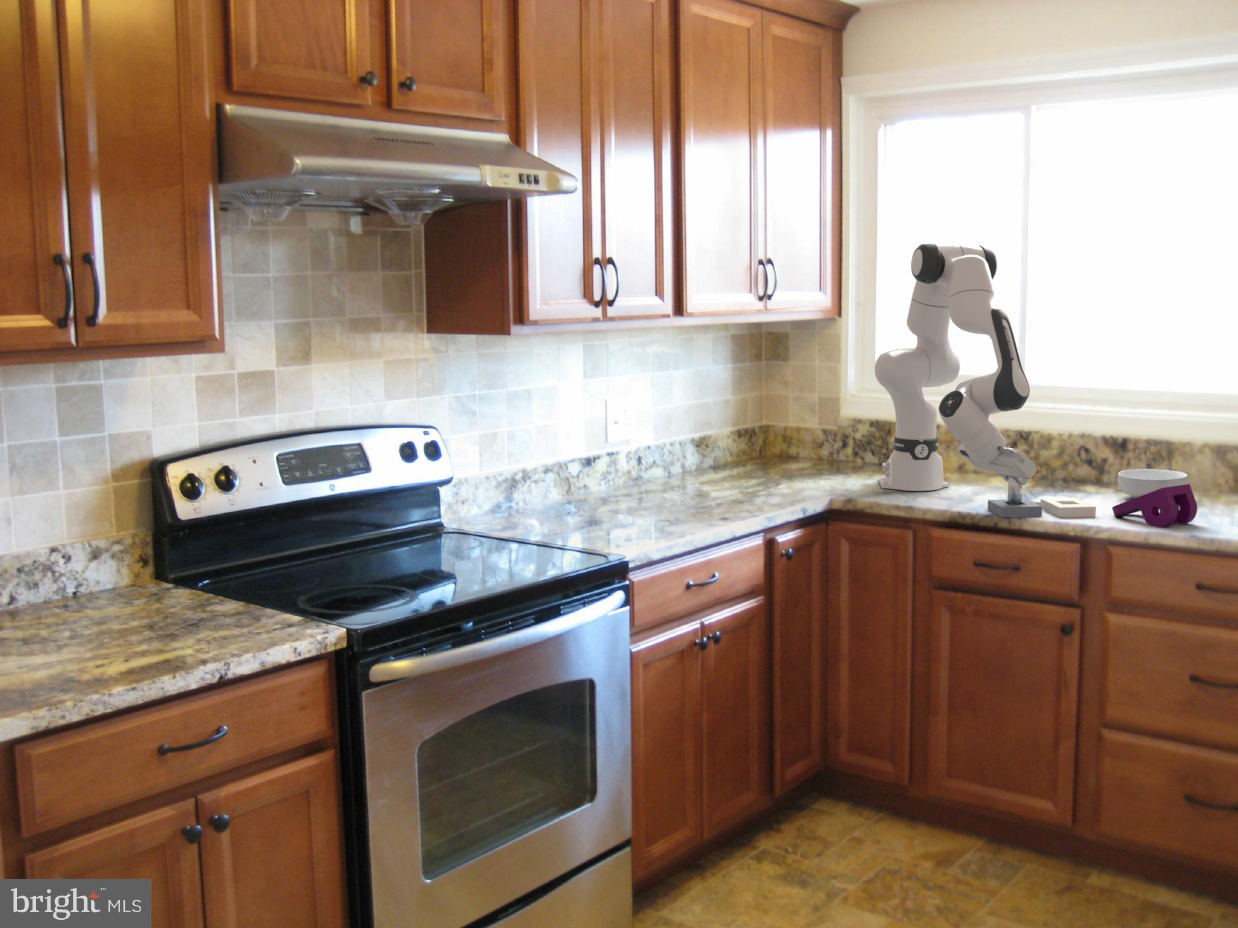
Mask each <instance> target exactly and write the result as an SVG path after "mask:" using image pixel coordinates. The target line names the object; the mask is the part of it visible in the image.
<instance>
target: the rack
mask: <svg viewBox="0 0 1238 928" xmlns="http://www.w3.org/2000/svg"><path fill="white" fill-rule="evenodd" d="M1039 502H1040V506H1042V511H1045V512H1047V513H1048V514H1051V515H1053V516H1055V517H1056V518H1058V519H1059V518H1061V519H1062V518H1095V517H1096V511H1097V507H1096V506H1095V505H1093V504H1091V503H1088V502H1086V501H1083V500H1082V499H1079V498H1077V497H1064V498H1063V497H1061V498H1051V497H1050V498H1040V501H1039Z"/></svg>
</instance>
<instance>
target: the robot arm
mask: <svg viewBox="0 0 1238 928" xmlns="http://www.w3.org/2000/svg"><path fill="white" fill-rule="evenodd" d="M911 256H912V257H911V263H910V264H911V268H910V269H911V274H912V275H913V277H914V279H915V280H916V281H915V285H914V287H913V291H912V295H911V300H910V304H909V309H908V313H907V319H906V326H907V327H908V330H909V331H910V332H911V333H912V334H913V335H915V336H916V340H917V341H916V346H915V348H897V349H893V350H890V351H889V350H888V351H886V352H883V353H881V354H880V355H879V356H878V357H877V360H876V362H875V365H874V376H875V378H876V380H877V382H878V383H879V385H881V386H882V387H883V388H884V389H885V390H886V391H887V392H888V395H889V396H890V398H891V401H892V403H893V406H894V407H893V408H894V412H895V413H894V414H895V436H894V438H893V442H892V443H893V445H892V449H893V451H892V453H891V454H890V456H889V458H888V460H887V461H886V462H882V463H881V464H882V466H881V470H882V472H885V475H884V476H883V475H882V476H879V477H878V481H879V485H880V487H881V488H882V489H891V490H898V491H899V490H900V491H909V492H926V491H935V490H936V491H937V490H941V489H943V488H948V487H949V482H947V481H944V463H943V462H944V461H943V460H944V459H943V457H942V456H941V455H940V454H939V453H938V450H939V449H938V448H939V438H938V437H937V430H938V429H937V426H938V425H937V424H938V420H937V419H938V413H939V415H940V416H939V417H940V418H941V420H942V422H943V423H944V425H945V426H946V428H947V430H948V431H949V432H950V433H951V434H952V435H953V437H955V438H956V439H957V440H958V441H960V442H961V443H960V445H959V447H958V448H957V453H958V454H960V455H961V456H964V458H965V459H966V460H967V461H968V462H969V463H970V464H971V465H972V466H974V467H975V468H976V469H978V470H980V471H981V470H982V471H986V472H991V473H994V474H996V475H998V476H999V477H1001V478H1002V479H1004V481H1005V482H1007V483H1008V475H1009V476H1014V477H1016V478H1017V480H1016V481H1017V482H1018V484H1020V485H1022V486H1025V485H1027V483H1028V480H1030V479H1031V478H1032V477H1033V476H1034V474H1035V473H1036V472H1037V471H1038V469H1037V468H1038V467H1037V465H1035V464H1034V462H1033V461H1032V460H1031V459H1030V458H1029V457H1028V456H1027V454H1025V453H1024V452H1022V451H1021V450H1019V449H1018V448H1012V447H1011V448H1010V447H1007V439H1006V438H1005V436H1004V435H1003V434H1002V433H1001V432H1000V430H999V429H998V428H997V427H996V426H995V424H993V422H990V420H989V417H990V416H991V415H994V414H995V415H996V414H999V413H1001V412H1003V413H1004V412H1010V411H1017V410H1020V409H1022V407H1024V405H1025V404H1026V402H1027V400H1028V398H1029V397H1030V396H1029V395H1030V393H1031V392H1030V391H1031V389H1030V385H1029V384H1030V383H1029V382H1028V378H1027V377H1026V374H1025V372H1024V369H1023V366H1022V361H1021V359H1020V355H1019V351H1018V348H1017V347H1018V346H1017V343H1016V338H1015V334H1014V332H1013V328H1012V324H1011V321H1010V319H1009V317H1008V315H1007V313H1006V312H1005V311H1004V310H1003V309H1001V308H999V307H998V306H997V304H996V301H995V292H994V286H993V285H994V284H993V280H994V278H995V276H996V273H997V269H998V258H997V255H996V253H995V251H994V250H993V249H991V248H990V247H988V246H984V245H974V244H969V243H961V242H953V243H952V242H950V243H948V242H947V243H945V242H944V243H943V242H942V243H935V242H926V243H921V244H920V245H918V246H917V248H915V250H914V251H913V254H912V255H911ZM950 321H951V322H952V323H953V325H954V326H956V327H957V328H958V329H960V330H962V331H965V332H966V333H967V332H968V333H971V334H978V335H985V336H986V335H987V336H989V338H990V340H991V343H992V347H993V350H994V354H995V355H994V356H995V358H996V363H997V369H996V370H995V371H993V373H989V374H986V375H982V376H978V377H974V378H970V379H967V380H965V381H962V382H960V383H959V384H958V385H957V386H956V388H955V390H953V391H951V392H949V393H947V394H946V395H945V396H944V397H942V399H941V401H940V402H939V405H938V412H937V409H936V408H935V406H934V405H933V404H931V403H929V402H928V401H927V400H926V398H925V397H924V393H923V388H937V387H941V386H944V385H947V384H950V383H953V382H954V381H955V380H957V378H958V376H959V373H960V371H961V369H960V368H961V362H960V359H959V357H958V355H957V353H956V352H955V351H954V350H953V349H952V347H951V346H950V342H949V326H950Z"/></svg>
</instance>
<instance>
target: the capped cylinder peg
mask: <svg viewBox="0 0 1238 928" xmlns="http://www.w3.org/2000/svg"><path fill="white" fill-rule="evenodd" d="M1016 480H1017V478H1016V477H1014V476H1009V475H1008V482H1007V499H1008V501H1007V504H1008V505H1022V499H1023V485H1020V484H1018V482H1017V481H1016Z"/></svg>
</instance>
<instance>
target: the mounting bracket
mask: <svg viewBox="0 0 1238 928" xmlns="http://www.w3.org/2000/svg"><path fill="white" fill-rule="evenodd" d="M1111 509H1112V512H1113V514H1114V517H1119V516H1126V515H1125V514H1127V515H1130V514H1134V513H1139V512H1141V515H1142V518H1143V520H1144V522H1145V523H1146V524H1147V525H1148V526H1151V527H1154V526H1155V527H1156V528H1166V527H1170V526H1171V525H1172V524H1176V523H1177V525H1183V524H1185V525H1186V524H1189V523H1191V522H1193V521H1194V519H1195V518H1196V516H1197V513H1198V504H1197V501H1196V499H1195V495H1194V492H1193V489H1192V487H1191V484H1189V483H1187V484H1186V485H1179V486H1172V487H1165V488H1161V489H1158V490H1156V491H1153V492H1150V493H1148V494H1145V495H1142V496H1140V497H1137V498H1134V497H1133V498H1131V499H1129V500H1126V501H1124V502H1121V503H1119V504H1116V505H1114V506H1112V507H1111Z"/></svg>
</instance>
